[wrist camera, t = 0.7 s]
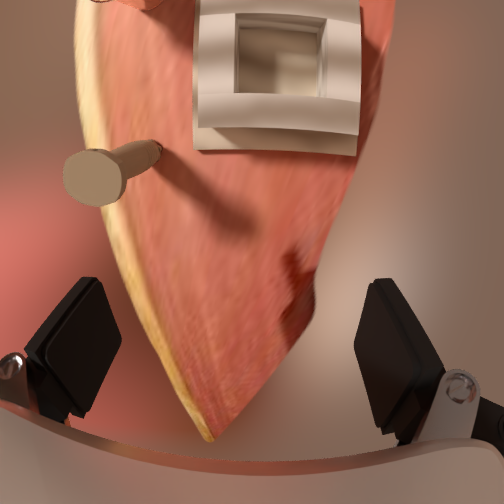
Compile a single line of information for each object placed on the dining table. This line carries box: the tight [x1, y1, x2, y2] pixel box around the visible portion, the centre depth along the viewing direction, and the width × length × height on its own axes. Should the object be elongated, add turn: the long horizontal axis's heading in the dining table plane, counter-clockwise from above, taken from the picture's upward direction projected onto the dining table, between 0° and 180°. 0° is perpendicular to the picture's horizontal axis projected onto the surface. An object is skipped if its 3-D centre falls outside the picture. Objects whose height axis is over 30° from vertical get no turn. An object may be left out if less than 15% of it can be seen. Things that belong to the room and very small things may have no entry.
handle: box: [63, 140, 162, 207], centre depth 27 cm, size 5×6×15 cm
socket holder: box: [193, 0, 361, 156], centre depth 25 cm, size 22×20×7 cm
